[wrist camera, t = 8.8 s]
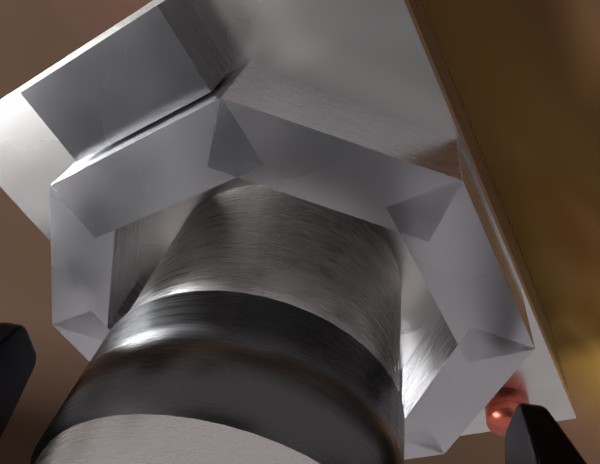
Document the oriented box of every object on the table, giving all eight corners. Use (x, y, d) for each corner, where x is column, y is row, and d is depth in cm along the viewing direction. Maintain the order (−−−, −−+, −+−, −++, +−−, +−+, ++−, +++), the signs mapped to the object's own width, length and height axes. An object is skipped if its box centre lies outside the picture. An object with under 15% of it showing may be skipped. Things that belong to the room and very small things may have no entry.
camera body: (277, 386, 18) (243, 516, 15) (35, 80, 13) (-109, 166, 10) (550, 325, 15) (593, 479, 11) (367, -134, 9) (338, -123, 6)
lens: (389, 380, 13) (371, 826, 7) (181, 349, 13) (2, 732, 8) (425, 195, 10) (446, 711, 4) (154, 165, 10) (-182, 568, 4)
